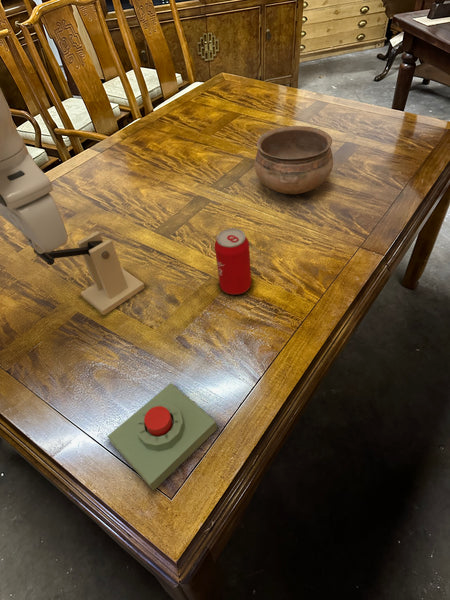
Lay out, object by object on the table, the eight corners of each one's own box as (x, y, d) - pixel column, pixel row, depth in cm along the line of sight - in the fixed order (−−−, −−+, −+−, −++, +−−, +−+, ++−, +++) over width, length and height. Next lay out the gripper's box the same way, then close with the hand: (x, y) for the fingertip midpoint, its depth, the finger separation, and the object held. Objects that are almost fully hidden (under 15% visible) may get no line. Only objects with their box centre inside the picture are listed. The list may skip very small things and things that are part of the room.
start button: (157, 441, 57) (155, 434, 56) (141, 424, 59) (138, 418, 58) (177, 422, 58) (175, 416, 57) (161, 407, 60) (159, 401, 59)
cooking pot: (328, 217, 96) (334, 168, 88) (248, 213, 100) (245, 166, 92) (331, 164, 113) (336, 119, 105) (262, 163, 117) (261, 119, 109)
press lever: (47, 269, 68) (47, 255, 67) (33, 256, 71) (33, 243, 70) (110, 259, 77) (112, 247, 76) (96, 249, 80) (97, 237, 79)
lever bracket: (104, 315, 80) (82, 264, 71) (82, 296, 84) (58, 246, 75) (145, 287, 85) (129, 236, 76) (122, 271, 89) (104, 221, 80)
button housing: (153, 491, 56) (147, 478, 53) (111, 443, 61) (103, 430, 58) (217, 429, 61) (214, 415, 58) (173, 390, 67) (168, 375, 64)
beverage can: (236, 271, 86) (231, 222, 77) (258, 285, 82) (255, 235, 74) (213, 286, 83) (206, 238, 75) (235, 301, 79) (230, 252, 71)
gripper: (-48, 159, 63) (-5, 234, 73) (11, 204, 52) (53, 285, 62) (-8, 144, 66) (28, 218, 76) (56, 183, 55) (89, 263, 65)
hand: (40, 248), depth 69 cm, fingers closed
